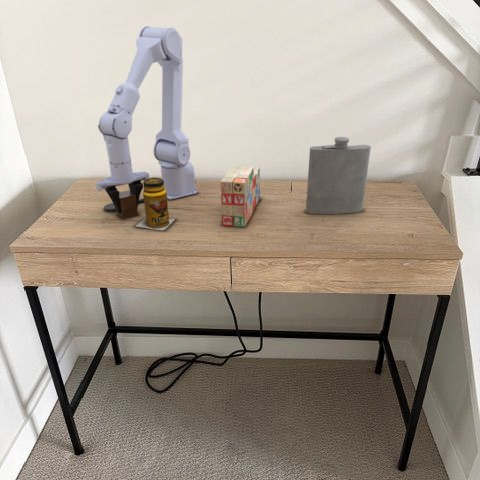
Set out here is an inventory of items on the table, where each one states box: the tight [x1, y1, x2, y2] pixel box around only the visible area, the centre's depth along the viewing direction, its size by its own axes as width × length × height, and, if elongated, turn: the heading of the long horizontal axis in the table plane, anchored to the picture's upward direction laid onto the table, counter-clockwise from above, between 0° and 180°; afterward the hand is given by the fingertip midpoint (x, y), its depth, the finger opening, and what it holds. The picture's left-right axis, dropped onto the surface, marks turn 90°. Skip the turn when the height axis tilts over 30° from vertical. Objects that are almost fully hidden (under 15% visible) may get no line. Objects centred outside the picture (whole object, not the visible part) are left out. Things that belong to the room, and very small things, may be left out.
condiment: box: [134, 177, 176, 231], centre depth 133 cm, size 7×8×12 cm
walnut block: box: [116, 189, 139, 220], centre depth 140 cm, size 4×4×6 cm
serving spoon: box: [103, 197, 144, 213], centre depth 147 cm, size 16×5×1 cm, turn 124°
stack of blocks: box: [220, 165, 261, 228], centre depth 139 cm, size 21×6×12 cm, turn 167°
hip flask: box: [305, 136, 372, 215], centre depth 136 cm, size 16×4×20 cm, turn 94°
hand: (127, 210), depth 141 cm, fingers closed on walnut block, 4 cm apart
